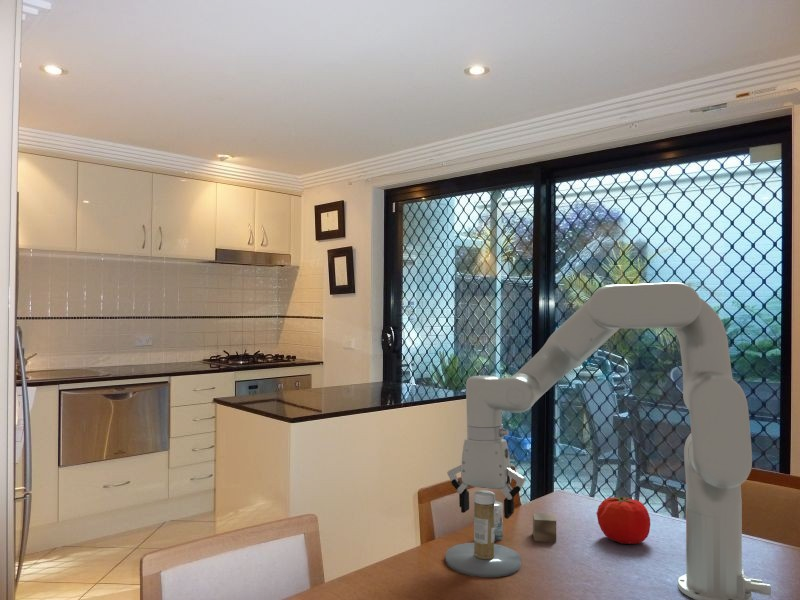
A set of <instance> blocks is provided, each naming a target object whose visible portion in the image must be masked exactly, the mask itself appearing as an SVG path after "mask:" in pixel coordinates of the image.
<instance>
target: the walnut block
mask: <svg viewBox="0 0 800 600" xmlns="http://www.w3.org/2000/svg"><path fill="white" fill-rule="evenodd" d="M532 536H533V540H535V542H546V541H550V542H549V543H557V519H556V516H555V514H554V513H535V512H532ZM551 541H552V542H551Z"/></svg>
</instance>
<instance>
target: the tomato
mask: <svg viewBox="0 0 800 600" xmlns="http://www.w3.org/2000/svg"><path fill="white" fill-rule="evenodd" d="M633 496H634V495H630V496H628V497H624V496H617V497H615V496H612V497H608V498H605V499H604V500H603V501H601V503H599V505H598V508H597V511H596V516H597V522H598V523H597V524H598V525H599V528H600V530H601V532H602V533H603V535H604V536H605V537H607V538H608V539H609V540H612V541H615V542H617V543H620V544H629V545H636V544H639V543H642V542H644V541H645V540H646V539H647V538H648V536H649V534H650V531H651V530H650V529H651V516H650V514H649V511H648V509H647V508H646V506H645V505H644V504H643V502H641V501H639V500H637V499H632V498H631V497H633Z"/></svg>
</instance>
